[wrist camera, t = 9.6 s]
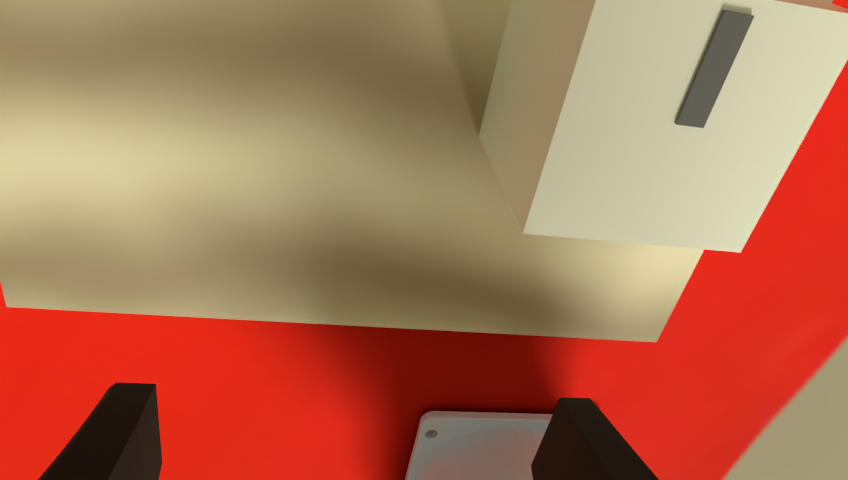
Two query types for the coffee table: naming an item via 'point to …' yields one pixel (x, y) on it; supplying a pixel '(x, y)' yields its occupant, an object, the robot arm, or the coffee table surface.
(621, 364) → the coffee table surface
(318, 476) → the coffee table surface
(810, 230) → the coffee table surface
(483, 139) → the slotted white block
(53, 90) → the board
